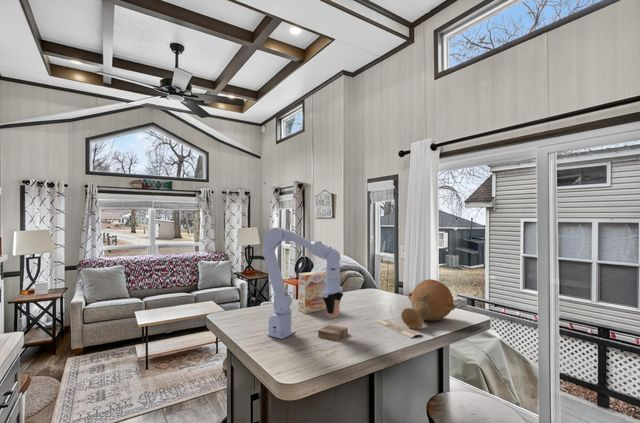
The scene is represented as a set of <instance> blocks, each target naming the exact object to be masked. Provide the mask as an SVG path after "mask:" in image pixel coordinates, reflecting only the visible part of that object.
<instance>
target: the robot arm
mask: <svg viewBox="0 0 640 423" xmlns="http://www.w3.org/2000/svg"><path fill="white" fill-rule="evenodd" d="M267 231H268V232H267V233H266V234H265V238H264V242H263V245H262V249H261V250H262V254H263V258H264V262H265V263H264V264H265V266H266V269H267V270H266V271H267V273H268V277H269V280H270V284H271V287H272V291H273V293H272V294H273V295H272V297H273V304H272V305H273V306H272V307H273V314H272V315H271V316H270V317H269V319H268V333H266V336H269V337H272V338H277V339H280V340H281V339H285V338H287V337H288V336H290V335H294V334H295V333H296V331H295V330H294V329H293V330H292V309H291V308H290V306H291V305H292V303H293V301H292V300H293V299H292V296H291V295H290V294H289V293H288V290H287V288H286V286H285V284H284V279H283V276H282V272H281V268H280V265H279V261H278V259H277V254H276V250H277V248H278V247H279V245H280V244H281V243H283V242H293V243H294V244H296V245H300V246H301V247H303V248H307V249H308V251H309V254H311V255H314V256H315V257H318V258H319V259H321V260H325V261H326V269H325V272H326V289H325V291H324V292H322V298H323V300H324V301H325V304H326V308H327V312H328V313H331V314H332V313H333V310H334V303H335V300H339V305H340V303H341V300H342V298H343V296H344V293H343V288H344V287H343V286H341V268H340V267H341V266H340V264H341V263H340V262H341V253H340V252H339V250H338V249H336V248H333V247H332V246H328V245H326V244H324V243H322V241H321V240H318V241H317V240H314V241H311V240H309V239H307V238H305V237H303V236H301V234H298V233H296V232H294V231H291V230H289V229H287V228H283V227H278V226H277V227H271V228H270V229H269V230H267Z"/></svg>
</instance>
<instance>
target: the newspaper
mask: <svg viewBox="0 0 640 423" xmlns="http://www.w3.org/2000/svg"><path fill="white" fill-rule="evenodd" d="M376 323H378V324H380V325H382V326H385V327H386V328H388V329H391V330H393V331H395V332H397V333H400V334H401V335H404V336H406V337H407V338H409V339H413V337H416V336H420V337H424V336H423V334H420V333H418V332H416V331H414V330H412V329H411V328H408V327H405V326H403V325H401V324H398V323H396V322H394V321H392V320H390V319H388V318H387V319H386V318H381V319H378V320H377V321H376Z"/></svg>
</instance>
